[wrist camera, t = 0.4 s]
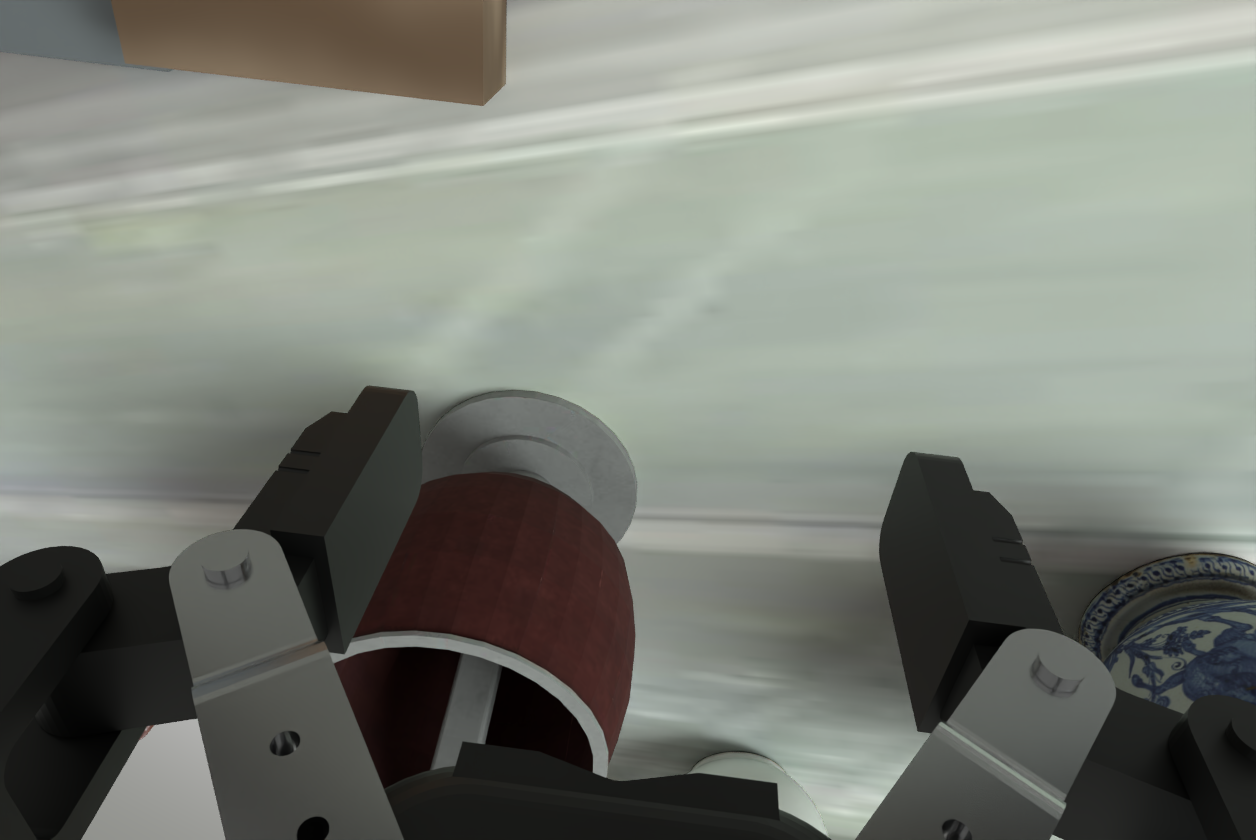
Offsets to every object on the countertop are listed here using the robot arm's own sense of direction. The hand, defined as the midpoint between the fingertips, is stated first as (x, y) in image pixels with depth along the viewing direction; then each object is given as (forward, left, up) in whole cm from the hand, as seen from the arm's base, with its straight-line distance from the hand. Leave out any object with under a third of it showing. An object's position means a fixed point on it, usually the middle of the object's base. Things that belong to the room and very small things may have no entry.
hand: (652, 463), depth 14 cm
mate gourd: (+22, -6, -26) cm, 34 cm away
